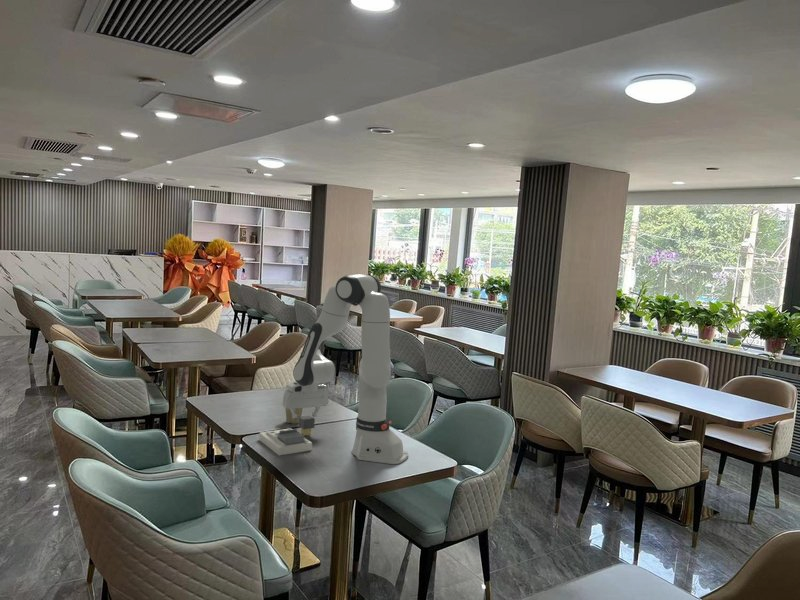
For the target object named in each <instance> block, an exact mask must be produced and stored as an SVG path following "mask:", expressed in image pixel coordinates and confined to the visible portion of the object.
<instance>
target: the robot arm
mask: <svg viewBox="0 0 800 600" xmlns="http://www.w3.org/2000/svg"><path fill="white" fill-rule="evenodd" d="M381 290H382V285H381V282H380V280H379V279H378V278H377V277H376V276H374V275H372V274H361V273H360V274H359V273H357V274H355V273H354V274H345V275H344V276H342V277H340V278H339V279H338V280H337V282H336V284H334V285H331V286H330V287H329V288H328V291H327V292H326V296H325V297H324V301H323V304H322V309H321V312H320V315H319V316H318V319H317V320H316V322H315V323H313V325H312V326H311V328H310V329H309V331H308V333H307V337H306V338H305V342H304V345H303V347H302V349H301V352H300V356H299V358H298V360H297V361H296V364H295V366H294V368H293V370H292V376H293V379H294V380H293V381H292V382H289V383H286V385H285V388H286V390H285V391H284V394H283V397H282V406H283V408H284V409H285V408H286V409H290V410H291V412H292V418H293V419H295V418H297V414H296V413H295V412H294V411H295V410H296V408H303V409H304V408H315V409H314V411H312V414H311V417H313V418H316V417H317V416H318V413H319V412H320V409H321V407H327V406H328V404H329V392H330V389H329V388H330V387H329V386H328V385H326V384H324V383H329V382H332V381H334V379H335V378H336V373H337V369H336V365H335V363H334V362H333V360H331V359H329V358H327V357H325V356H324V355H323V354H322V352H321V349H319V347H320V345H321V344H322V343H323V342H324V341H325V340H327V339H328V338H330V337H332V336H335V335H336V334H339V333H340V332H342V331H343V330H344V329H345V328H346V325H347V324H348V321H349V316H350V311H351V306H352V305H353V306H354V307H357V306H360V308H361V336H360V337H361V338H360V340H361V341H360V342H361V359H360V361H359V365H358V409H357V416H356V422H355V430H356V431H355V433H356V434H355V439H354V444H353V447H352V449H351V454H352V455H353V456H355V457H356V459H357V460H359V461H365V462H372V463H373V462H374V463H381V464H386V465H387V464H388V465H389V464H390V465H398V464H401V463H403V462H405V461H406V460H407V459H408V458H409V452H408V451H406V450H404V446H403V445H404V444H403V441H402V439H401V438H400V437H399V436H398V435H397V434H396V433H395V432H394V431H393V430H392V429H391V428H390V425H391V424H392V420H389V421H388V419H387V417H386V416H387V405H388V403H387V401H388V397H387V385H388V384H389V382H390V381H391V377H392V375H391V374H392V367H391V366H392V362H391V359H392V358H391V346H390V345H391V344H390V342H391V341H390V337H391V334H390V332H391V329H390V328H391V310H390V303H389V298H388V296H387V295H385V294H384V293H382V292H381Z"/></svg>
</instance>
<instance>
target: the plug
mask: <svg viewBox="0 0 800 600" xmlns="http://www.w3.org/2000/svg"><path fill="white" fill-rule="evenodd" d="M315 420H316V418H315V417H313V416H312V415H304V416H302V415H301V417H299V423H298V427H300V428H301V432H300V433H301V434H303V435H304V437H305V435H306V436H311V435H312V429H315Z"/></svg>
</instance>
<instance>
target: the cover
mask: <svg viewBox="0 0 800 600" xmlns="http://www.w3.org/2000/svg"><path fill="white" fill-rule="evenodd" d="M304 437H305V436H304V435H302V434H301V432H299V431H298V430H297V429H296V428H295V429H293V430H286V431H280V433H278V439H279V440H280V441H282V442H283V443H284V444H285V445H286V444H293V443H300V442H304Z"/></svg>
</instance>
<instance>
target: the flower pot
mask: <svg viewBox="0 0 800 600" xmlns="http://www.w3.org/2000/svg"><path fill="white" fill-rule="evenodd" d="M284 409H285V417H286V423H288V424H290V423H291V424H299V417H302V414H303V409H304V408H296V410H295V411H294V412H295V413H296V414H297V418H295V419H293V418H292V412H291V410H290V409H286V408H285V407H284Z"/></svg>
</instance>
